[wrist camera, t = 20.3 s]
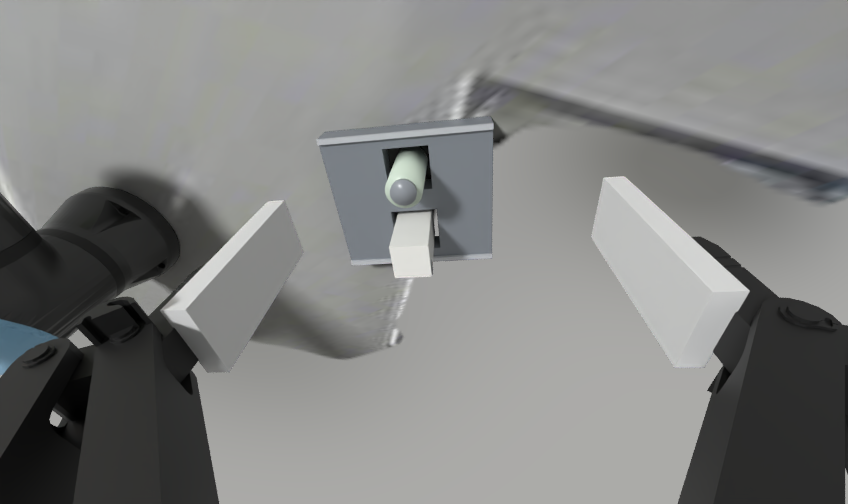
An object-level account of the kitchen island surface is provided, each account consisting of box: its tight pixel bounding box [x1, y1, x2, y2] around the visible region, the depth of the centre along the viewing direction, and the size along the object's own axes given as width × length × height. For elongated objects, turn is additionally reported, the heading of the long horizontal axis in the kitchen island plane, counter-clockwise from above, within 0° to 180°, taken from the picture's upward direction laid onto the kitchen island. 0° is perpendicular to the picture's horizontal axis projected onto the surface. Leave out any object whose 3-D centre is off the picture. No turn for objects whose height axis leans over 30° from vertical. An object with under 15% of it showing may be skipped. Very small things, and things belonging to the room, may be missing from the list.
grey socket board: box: [316, 116, 494, 265], centre depth 44 cm, size 20×18×3 cm
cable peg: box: [385, 146, 428, 208], centre depth 39 cm, size 4×4×10 cm
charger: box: [389, 209, 435, 278], centre depth 43 cm, size 5×5×10 cm
